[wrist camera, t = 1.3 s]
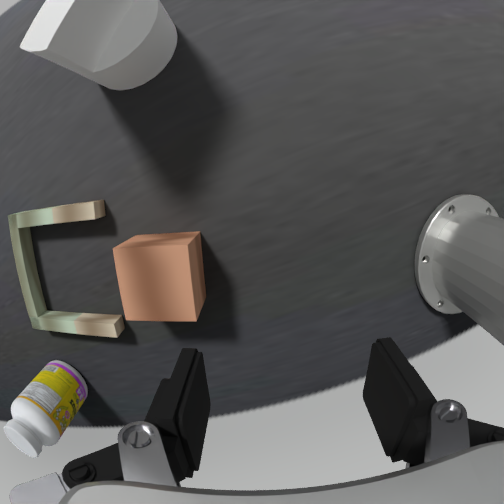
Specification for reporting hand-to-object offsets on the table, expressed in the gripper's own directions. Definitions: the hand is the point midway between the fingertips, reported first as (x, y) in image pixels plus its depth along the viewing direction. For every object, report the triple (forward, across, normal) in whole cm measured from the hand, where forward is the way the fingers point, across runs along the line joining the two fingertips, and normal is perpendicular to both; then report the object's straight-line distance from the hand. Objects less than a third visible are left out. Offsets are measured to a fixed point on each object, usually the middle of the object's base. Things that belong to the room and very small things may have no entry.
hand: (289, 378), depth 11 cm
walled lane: (+16, +21, 0) cm, 26 cm away
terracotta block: (+16, +9, 0) cm, 18 cm away
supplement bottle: (+16, +26, +15) cm, 34 cm away
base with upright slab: (+16, +12, -21) cm, 29 cm away
